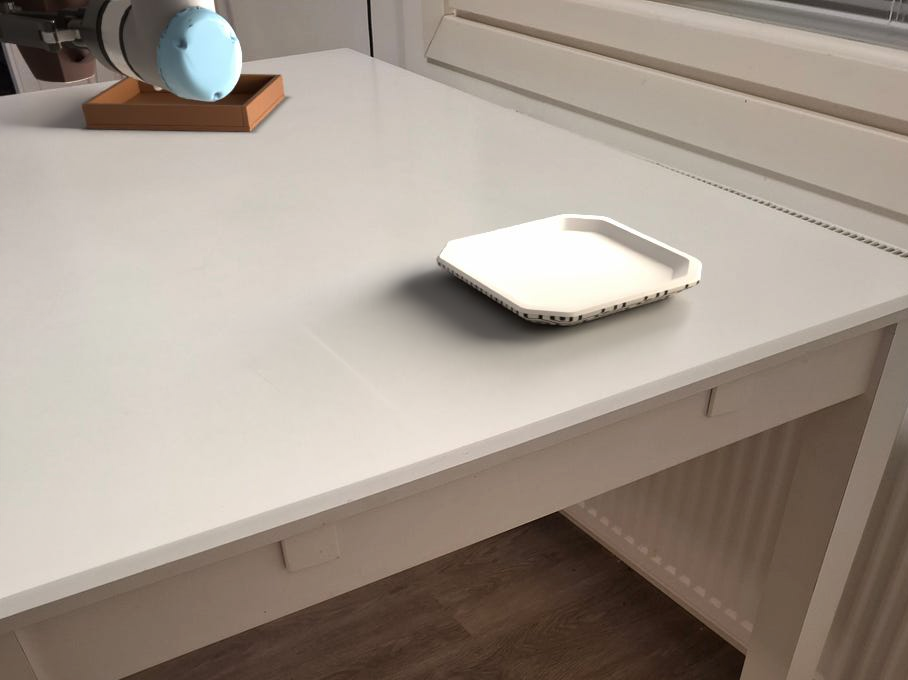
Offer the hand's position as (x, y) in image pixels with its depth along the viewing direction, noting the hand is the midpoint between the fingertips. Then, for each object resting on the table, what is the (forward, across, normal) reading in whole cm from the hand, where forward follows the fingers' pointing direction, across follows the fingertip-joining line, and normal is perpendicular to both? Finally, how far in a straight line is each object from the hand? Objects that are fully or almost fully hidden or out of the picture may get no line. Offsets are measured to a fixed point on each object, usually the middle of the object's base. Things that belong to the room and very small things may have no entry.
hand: (44, 9), depth 105 cm
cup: (-3, 0, -7) cm, 8 cm away
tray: (+14, +23, -16) cm, 31 cm away
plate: (-69, +17, -16) cm, 73 cm away
